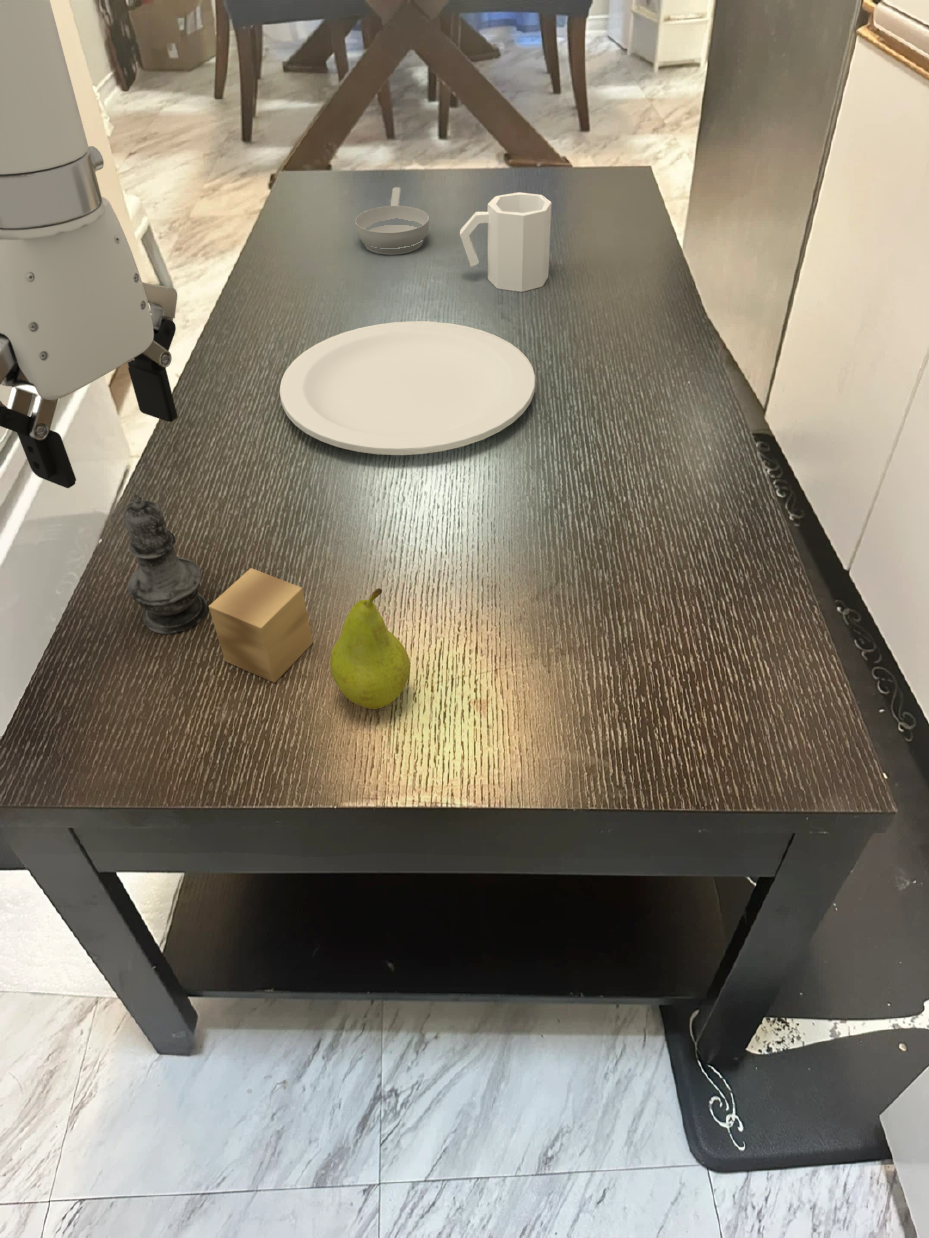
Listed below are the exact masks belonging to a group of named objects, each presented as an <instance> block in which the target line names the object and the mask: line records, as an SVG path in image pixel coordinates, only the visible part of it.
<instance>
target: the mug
mask: <svg viewBox="0 0 929 1238" xmlns="http://www.w3.org/2000/svg"><path fill="white" fill-rule="evenodd" d="M552 203H553V202H552V201H550V200H549V199H547V198H546V197H545V195H543V194H537V193H530V192H529V193H528V192H522V191H521V192H520V191H519V192H513V193H512V192H511V193H507V194H501V195H495V196H494V197H493V198H492V199H491V200H490V201H489V202H488V203H487V211H475V212H474V213H473V215H472V216H470V218H469V219H468V220H467V221H466V222H465V224H464V225H463V226H462V227H461V229H460V230H459V237H460V239H461V242H462V245H463V248H464V251H465V255H466V258H467V260H468V263H469V266H470V268H473V267H475V266H477V265H478V264H479V263H480V261H479V257H478V254H477V252H476V249H475V247H474V244H473V242H472V238H471V237H470V235H471V234H472V233H473V232H474V231H475V229H476V228H477V226H478V225H479V224H487V280H488V281H489V282H490V283H491V284H492V285H493V286H494V287H495V288H496V289H498V290H504V291H510V292H511V291H512V292H520V293H523V292H527V291H532V290H534V289H537V288H542V287H544V285H545V283H546V282H547V280H548V278H549V269H550V247H551V246H550V244H551V223H552Z"/></svg>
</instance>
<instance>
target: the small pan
mask: <svg viewBox="0 0 929 1238" xmlns="http://www.w3.org/2000/svg"><path fill="white" fill-rule="evenodd" d="M391 191H392V192H391V197H390V204H389V205H386V206H379V207H373V208H371V209H367V210H364V211H362V212H361V213H359V214H358V215H357V216H356V217H355V220H354V223H355V228H356V229H355V230H356V233H357V235H358V237H359V239H360V241H361V242H362V243H363V244H364V243H365V244H364V246H365V248H366V249H367V250H368V251H370V252H372V253H375V254H379V255H380V254H381V255H387V256H389V255H390V256H391V255H403V254H407V253H412V252H414V251H416V250H418V249H420V248H421V247H422V245H423V243H424V242H425V239H426V237H427V235H428V233H429V227H430V216H429V214H428V213H427V212H426V211H424V210H423V209H420V208H418V207H417V208H416V207H413V206H405V205H400V203H401V201H400V200H401V192H402V188H401V187H399V186H394V187H393V188H392V190H391ZM395 218H398V219H404V220H408V221H415V222H418V223H420V224H422V226H420V227H418V228H417V227H414V226H409V225H384V226H379V227H375V228H372V229H370V230H366V228H367V227H369V226H371V225H372V224H374V223H377V222H379V221H385V220H390V219H395ZM424 238H425V239H424ZM423 239H424V240H423ZM421 240H423V241H422V242H420V241H421ZM418 242H420V243H418ZM416 243H418V244H416ZM413 244H416V245H414V246H411V245H413ZM371 246H373V247H371ZM404 246H410V247H406V248H400V249H380V248H398V247H404ZM374 247H377V248H374Z"/></svg>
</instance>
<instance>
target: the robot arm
mask: <svg viewBox="0 0 929 1238" xmlns="http://www.w3.org/2000/svg"><path fill="white" fill-rule="evenodd" d="M53 11H54V10H53V7H52V3H51V0H0V385H2V386H4V387H11V388H10V392H9V394H8V395H9V396H8V400H7V403H6V405H5V404H4V403H3V402H2V400H0V428H4V429H6V430H9V431H12V432H15V433H16V435H17V436H18V439H19V442H20V444H21V447H22V449H23V452H24V455H25V457H26V460H27V462H28V464H29V468H30V469H31V471H32V472H33V473H34V475H35V476H37V477H38V478H41V479H42V480H44V481H47V482H50V483H53V484H55V485H57V486H60V487H62V488H66V489H70V488H72V487H73V486H74V485H76V481H77V477H76V474H75V472H74V469H73V466H72V463H71V461H70V458H69V455H68V453H67V449H66V446H65V444H64V440H63V438H62V436H61V434H60V433H59V432H57V431H54V430H51V427H52V423H53V420H54V416H55V412H56V409H57V406H58V401H59V400H60V399H63V398H65V397H67V396H69V395H71V394H73V393H75V392H76V391H78V390H80V389H83V388H84V387H86V386H87V385H89V384H91V383H93V382H95V381H96V380H99V379H100V378H102V377H104V376H105V375H108V374H109V373H111V372H113V371H115V370H116V369H118V368H120V367H121V366H123V365H126V364H127V365H128V367H127V369H128V374H129V377H130V380H131V381H130V382H131V384H132V387H133V388H132V389H133V391H134V395H135V398H136V402H137V405H138V409H139V411H140V412H141V413H142V414H144V415H147V416H149V417H153V418H156V419H159V420H161V421H165V422H169V423H173V422H174V421H175V420H177V419H178V412H177V408H176V405H175V400H174V396H173V392H172V387H171V384H170V379H169V376H168V371H167V367H169V366H170V365H171V363H172V361H173V360H172V357H173V356H172V353H171V352H170V348H171V345H172V342H173V341H174V340H173V339H174V337H175V334H176V331H177V327H176V324H175V322H174V319H175V318H176V313H177V312H176V311H177V304H178V303H177V302H178V292H177V291H176V289H174V288H172V287H167V286H165V285H164V286H163V285H159V284H155V283H150V282H149V283H148V282H144V281H142V278H141V275H140V271H139V268H138V266H137V265H138V264H137V262H136V260H135V257H134V254H133V251H132V249H131V247H130V244H129V242H128V239H127V236H126V234H125V231H124V229H123V227H122V225H121V223H120V221H119V218H118V216H117V214H116V212H115V210H114V208H113V206H112V204H111V202H110V201H109V199H107V198H106V197H104V196H102V193H101V188H100V184H99V182H98V178H97V174H96V173H97V172H98V171H100V170H102V169H103V168H104V165H105V164H104V161H105V160H104V157H103V155H102V154H101V152H100V150H99V149H98V148H97V147H95V146H93V145H90V146H89V143H88V140H87V135H86V132H85V128H84V125H83V121H82V116H81V114H80V110H79V106H78V102H77V99H76V94H75V91H74V87H73V83H72V79H71V75H70V72H69V68H68V65H67V61H66V56H65V53H64V50H63V49H64V48H63V46H62V42H61V37H60V34H59V30H58V26H57V23H56V19H55V14H54V12H53ZM33 396H35V399H34V402H33V406H32V409H31V413H30V415H28V414H29V410H30V407H31V402H32V398H33Z"/></svg>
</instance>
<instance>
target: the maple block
mask: <svg viewBox="0 0 929 1238" xmlns="http://www.w3.org/2000/svg"><path fill="white" fill-rule="evenodd" d="M208 609H209V613H210V616H211V619H212V623H213V627H214V629H215V632H216V636H217V641H218V642H219V646H220V650H221V653H222V656H223V659H224V662H226V663H228V664H230V665H233V666H235V667H237V668H239V669H242V670H244V671H247V672H248V673H251V674H253V675H255V676H257V677H260V678H262V679H264V680H267V681H269V682H271V683H272V684H276V683H277V681H278V680H280V678H281V677H282V676H284V674H285V673H286V672H287V671H288V670H289V669H290V668H291V667H292V666H293V665H294V664H295V663H296V661H298V659H300V657H301V656H302V655H303V654H304V653H305V652H306V651H307V650H308V649H309V648H310V647H311V646H312V644H313V641H314V640H313V636H312V635H313V634H312V631H311V627H310V626H311V625H310V621H309V616H308V615H309V614H308V611H307V606H306V600H305V595H304V589H303V587H301V586H300V585H299V586H298V585H297V584H294V583H291V582H289V581H286V580H284V579H282V578H279V577H276V576H274V575H270V574H268V573H265V572H263V571H260V570H257V569H255V568H252V567H250V568H249V569H248V570H247V571H246V572H245V573H243V574H242V575H241V576H240V577H239V578H238V579H237V580H235V581H234V583H232V584H231V585H230V586H229V587H228V588H227V589H226V590H225V591H223V592H222V593H221V594H220V595H219V596H218V597H217V598H216V599H215V600H213V601H212V602H211V603H210V604H209V605H208Z"/></svg>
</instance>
